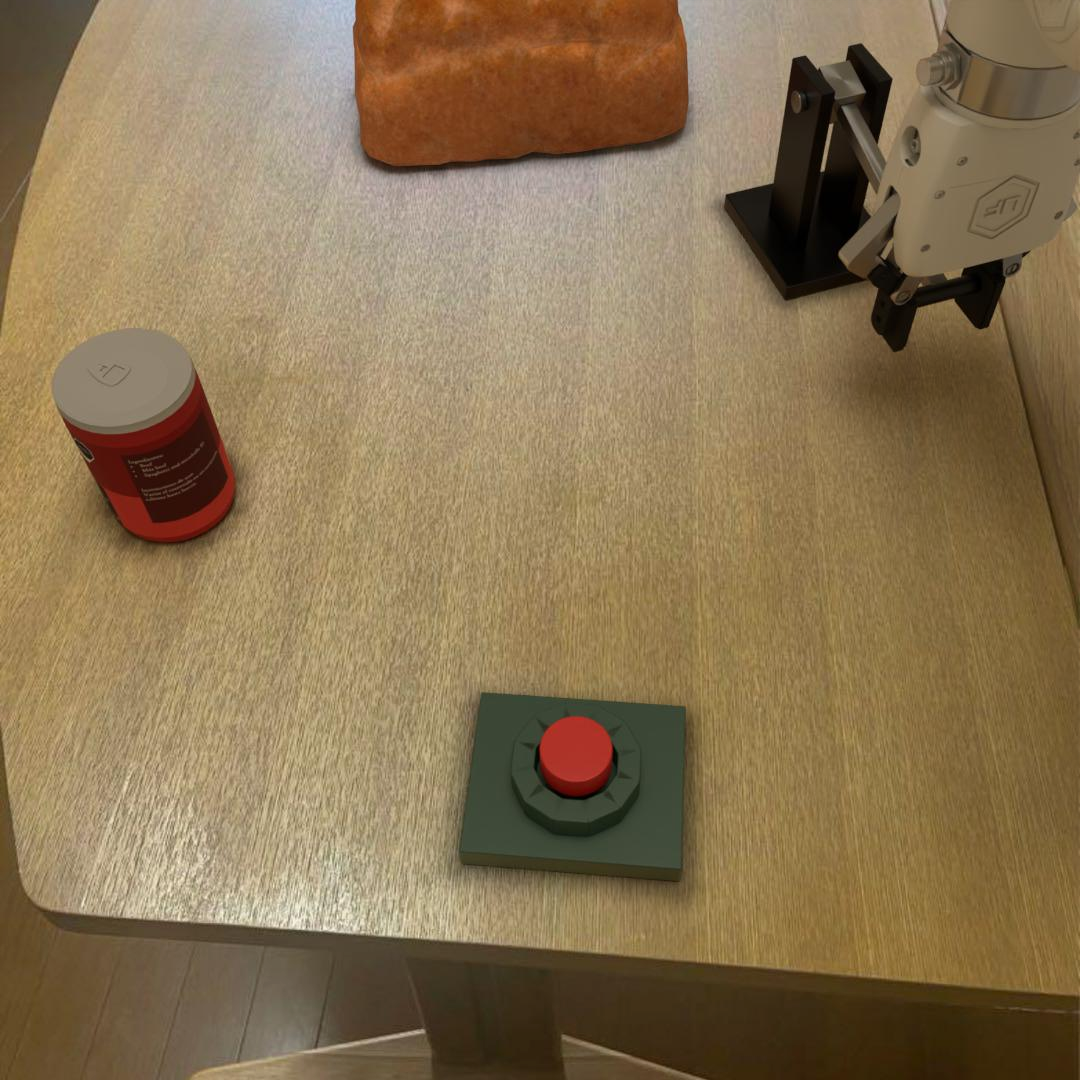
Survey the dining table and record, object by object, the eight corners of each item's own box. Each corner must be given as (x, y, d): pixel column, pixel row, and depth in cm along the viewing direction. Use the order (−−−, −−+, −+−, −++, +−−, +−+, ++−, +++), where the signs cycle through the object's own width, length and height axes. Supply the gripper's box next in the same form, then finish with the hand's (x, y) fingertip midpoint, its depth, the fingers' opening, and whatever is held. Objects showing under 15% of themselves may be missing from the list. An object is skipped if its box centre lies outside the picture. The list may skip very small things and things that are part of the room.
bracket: (900, 271, 85) (947, 100, 74) (785, 300, 84) (815, 130, 73) (831, 181, 92) (866, 10, 80) (723, 206, 90) (743, 37, 79)
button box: (683, 720, 65) (688, 689, 62) (679, 881, 59) (684, 855, 57) (483, 706, 66) (478, 675, 63) (461, 864, 60) (455, 837, 57)
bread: (359, 80, 101) (327, -106, 89) (666, 52, 103) (677, -136, 90) (363, 182, 93) (329, -8, 81) (696, 150, 94) (713, -42, 82)
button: (614, 734, 61) (614, 718, 59) (609, 799, 59) (610, 784, 57) (543, 729, 61) (542, 713, 60) (537, 794, 59) (536, 779, 58)
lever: (972, 301, 74) (988, 279, 72) (899, 320, 73) (913, 298, 71) (858, 82, 80) (869, 55, 78) (789, 97, 79) (799, 71, 77)
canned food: (141, 443, 78) (84, 318, 69) (256, 460, 77) (213, 335, 68) (92, 536, 73) (24, 415, 64) (213, 555, 72) (161, 435, 63)
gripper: (895, 138, 57) (831, 400, 71) (1204, 66, 59) (1082, 333, 74) (826, 55, 61) (779, 318, 76) (1117, -9, 64) (1017, 257, 78)
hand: (929, 323), depth 75 cm, fingers closed on lever, 5 cm apart
